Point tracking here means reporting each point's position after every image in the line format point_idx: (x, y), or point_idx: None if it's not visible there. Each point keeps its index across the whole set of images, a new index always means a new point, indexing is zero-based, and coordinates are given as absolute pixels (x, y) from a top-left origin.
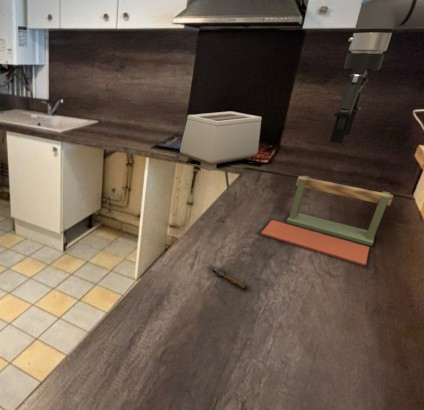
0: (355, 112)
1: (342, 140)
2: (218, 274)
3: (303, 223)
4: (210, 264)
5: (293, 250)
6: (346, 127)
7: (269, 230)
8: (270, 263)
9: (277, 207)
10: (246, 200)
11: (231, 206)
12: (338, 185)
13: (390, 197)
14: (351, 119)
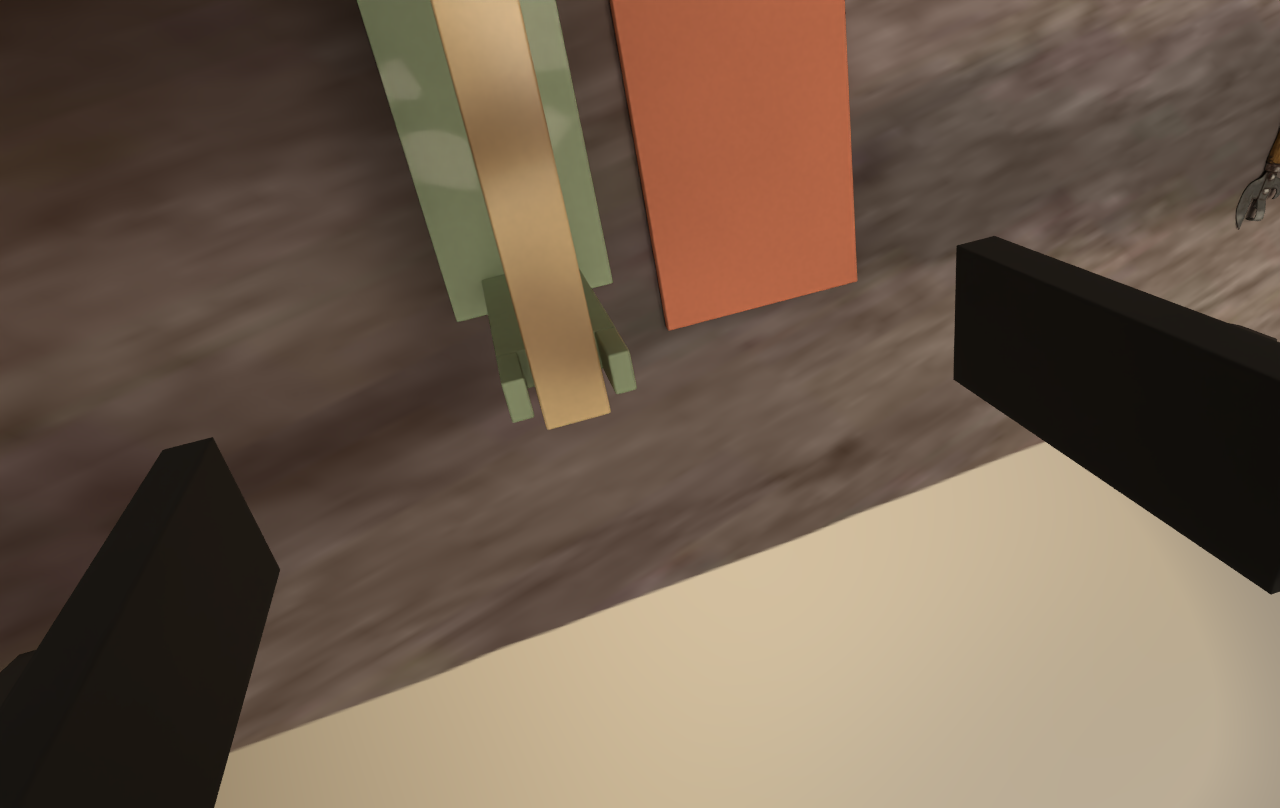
0: (41, 783)
1: (1025, 251)
2: (1277, 189)
3: (587, 199)
4: (1212, 252)
5: (904, 95)
6: (1189, 315)
7: (805, 270)
8: (1084, 107)
9: (434, 414)
10: (498, 551)
11: (647, 536)
12: (525, 134)
13: None
14: (139, 655)
